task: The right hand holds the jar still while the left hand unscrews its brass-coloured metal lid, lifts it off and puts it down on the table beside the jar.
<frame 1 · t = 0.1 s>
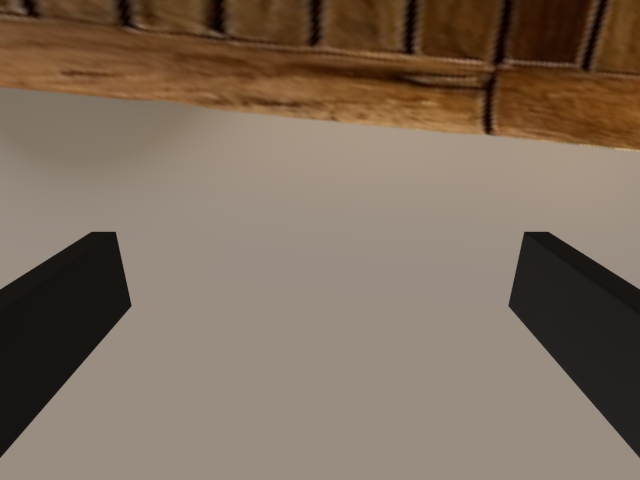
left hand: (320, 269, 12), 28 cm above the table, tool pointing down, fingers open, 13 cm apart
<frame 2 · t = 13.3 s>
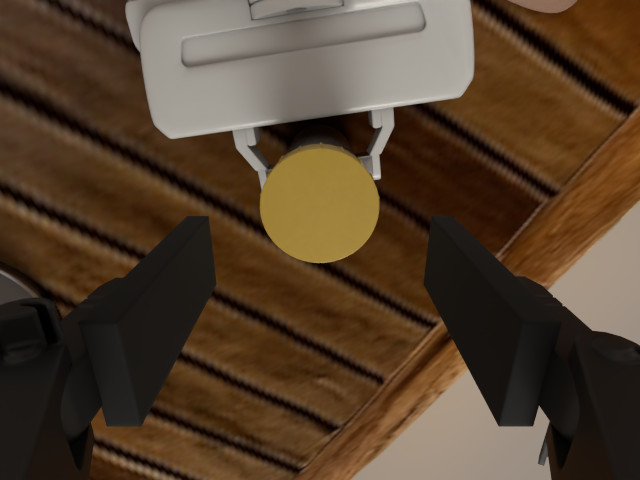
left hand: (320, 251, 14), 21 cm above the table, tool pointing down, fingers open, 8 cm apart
right hand: (322, 185, 27), fingers closed on jar, 5 cm apart
jar: (319, 156, 33), on the table, touching right hand
lid: (319, 206, 19), point 15 cm above the table, screwed on, not yet turned
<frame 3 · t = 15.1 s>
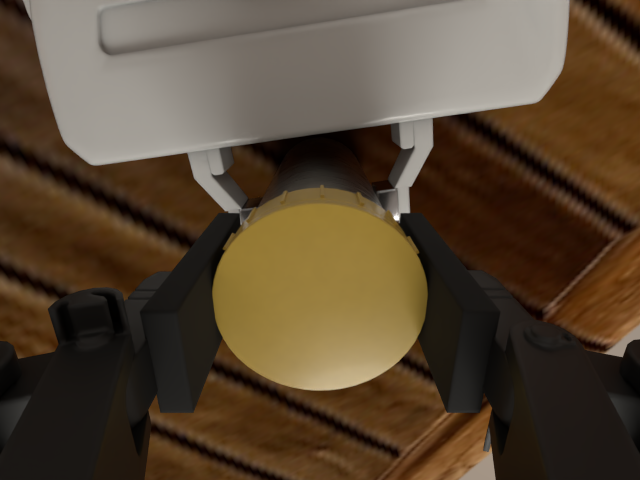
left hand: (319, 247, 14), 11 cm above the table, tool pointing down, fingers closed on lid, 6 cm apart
right hand: (323, 229, 19), fingers closed on jar, 5 cm apart
jar: (320, 180, 25), on the table, touching right hand
lid: (320, 300, 11), point 15 cm above the table, screwed on, not yet turned, touching left hand
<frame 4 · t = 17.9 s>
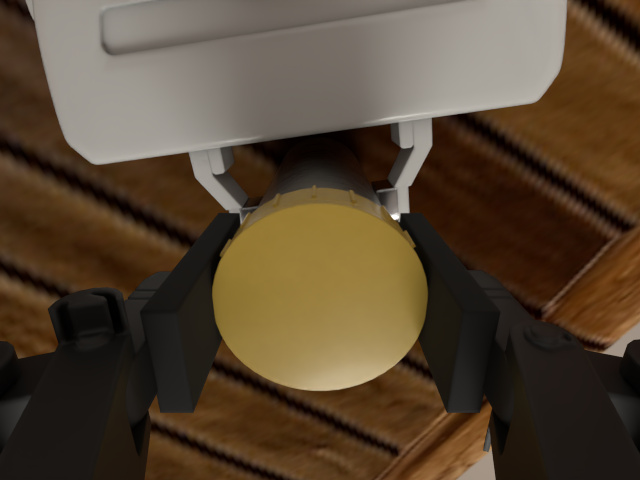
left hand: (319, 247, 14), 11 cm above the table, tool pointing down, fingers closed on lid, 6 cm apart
right hand: (323, 228, 19), fingers closed on jar, 5 cm apart
jar: (320, 179, 25), on the table, touching right hand
lid: (320, 300, 11), point 15 cm above the table, turned 64° so far, risen 0.2 cm, still on its thread, touching left hand
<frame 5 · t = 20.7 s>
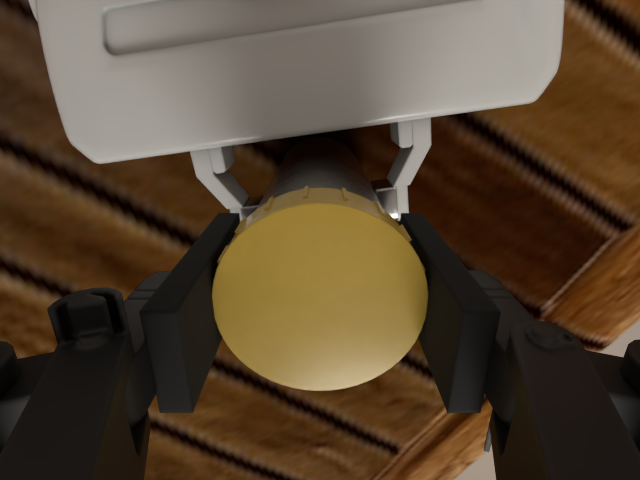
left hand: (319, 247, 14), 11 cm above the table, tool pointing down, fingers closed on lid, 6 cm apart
right hand: (323, 227, 19), fingers closed on jar, 5 cm apart
jar: (320, 179, 25), on the table, touching right hand
lid: (320, 300, 11), point 15 cm above the table, turned 128° so far, risen 0.3 cm, still on its thread, touching left hand
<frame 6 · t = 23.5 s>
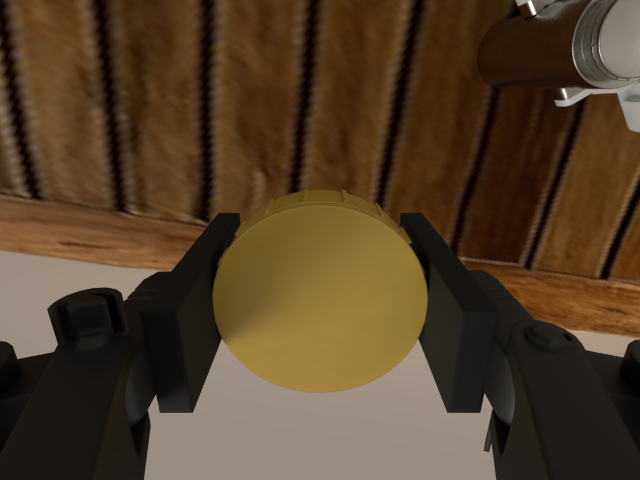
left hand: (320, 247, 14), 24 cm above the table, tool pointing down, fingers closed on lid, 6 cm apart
jar: (508, 54, 33), on the table, touching right hand
lid: (320, 302, 11), point 27 cm above the table, off its thread, touching left hand
when the left hand's fingers open (0 cm above the table, at t = 26.8 s): lid drops 3 cm, point 1 cm above the table.
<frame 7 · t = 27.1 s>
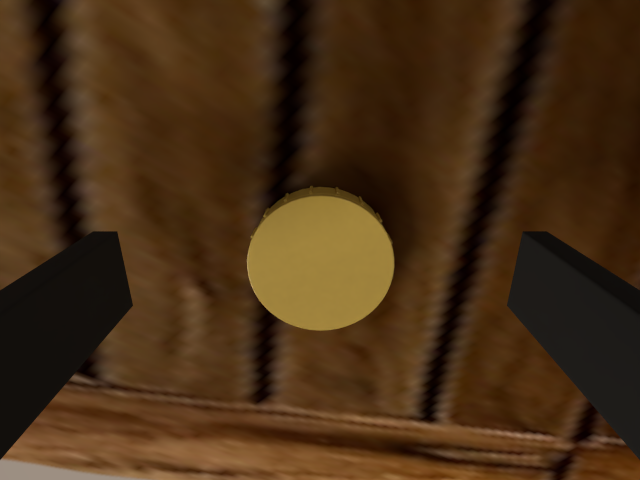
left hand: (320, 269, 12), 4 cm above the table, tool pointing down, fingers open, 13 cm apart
lid: (320, 264, 15), point 1 cm above the table, off its thread
when the right hand's fingers open (7 cm above the table, at t = 27.5 s): jar stays where it is, on the table.
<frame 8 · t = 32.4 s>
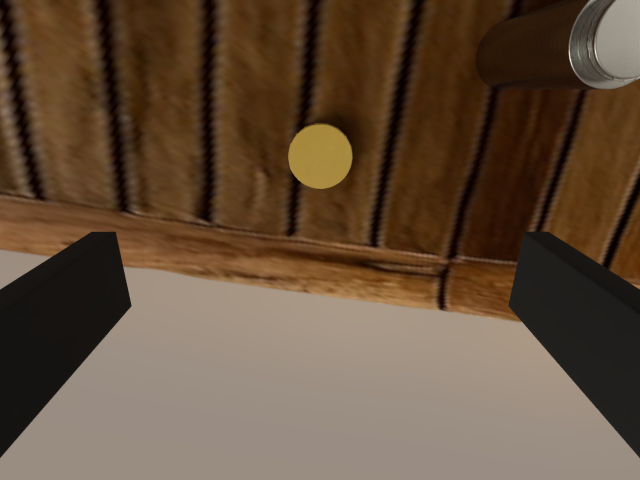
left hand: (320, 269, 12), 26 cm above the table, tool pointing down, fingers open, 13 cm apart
jar: (507, 55, 33), on the table
lid: (320, 156, 35), point 1 cm above the table, off its thread
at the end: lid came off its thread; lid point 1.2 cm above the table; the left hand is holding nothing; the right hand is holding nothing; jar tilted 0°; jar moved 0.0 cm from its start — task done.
